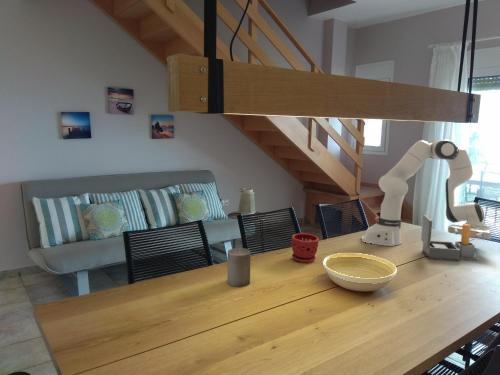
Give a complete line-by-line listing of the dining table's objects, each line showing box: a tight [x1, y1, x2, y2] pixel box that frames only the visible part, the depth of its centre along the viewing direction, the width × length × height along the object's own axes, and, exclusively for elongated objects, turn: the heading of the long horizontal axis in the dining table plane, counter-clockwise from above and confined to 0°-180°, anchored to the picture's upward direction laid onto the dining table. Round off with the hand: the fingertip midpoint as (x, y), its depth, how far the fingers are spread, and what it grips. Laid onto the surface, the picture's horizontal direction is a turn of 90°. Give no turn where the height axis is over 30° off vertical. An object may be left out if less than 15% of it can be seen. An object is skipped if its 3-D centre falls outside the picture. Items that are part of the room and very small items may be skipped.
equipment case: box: [420, 214, 460, 262], centre depth 200 cm, size 15×14×20 cm
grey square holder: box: [454, 241, 478, 261], centre depth 200 cm, size 10×10×7 cm
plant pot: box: [291, 233, 320, 264], centre depth 190 cm, size 13×13×12 cm
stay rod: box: [460, 223, 471, 245], centre depth 200 cm, size 4×4×16 cm
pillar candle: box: [226, 247, 252, 288], centre depth 160 cm, size 10×10×15 cm
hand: (466, 234), depth 200 cm, fingers open, 8 cm apart
